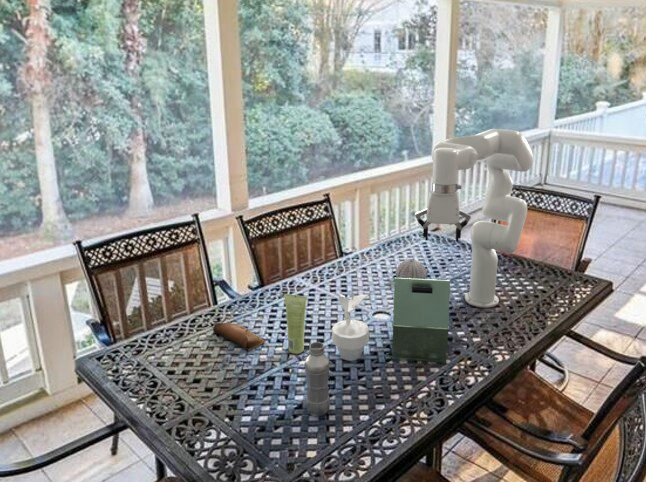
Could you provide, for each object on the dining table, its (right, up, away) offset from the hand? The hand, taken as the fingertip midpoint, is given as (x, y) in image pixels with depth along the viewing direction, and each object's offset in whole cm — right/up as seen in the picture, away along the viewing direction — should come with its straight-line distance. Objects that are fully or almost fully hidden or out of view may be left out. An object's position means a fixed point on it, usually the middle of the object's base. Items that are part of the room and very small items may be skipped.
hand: (441, 239), depth 171 cm
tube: (-46, -36, +1) cm, 59 cm away
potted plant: (-29, -37, -2) cm, 47 cm away
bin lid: (-8, -18, -9) cm, 22 cm away
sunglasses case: (-66, -34, +9) cm, 75 cm away
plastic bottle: (-38, -45, -28) cm, 65 cm away
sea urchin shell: (-3, -20, +54) cm, 57 cm away
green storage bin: (-7, -35, +1) cm, 36 cm away
